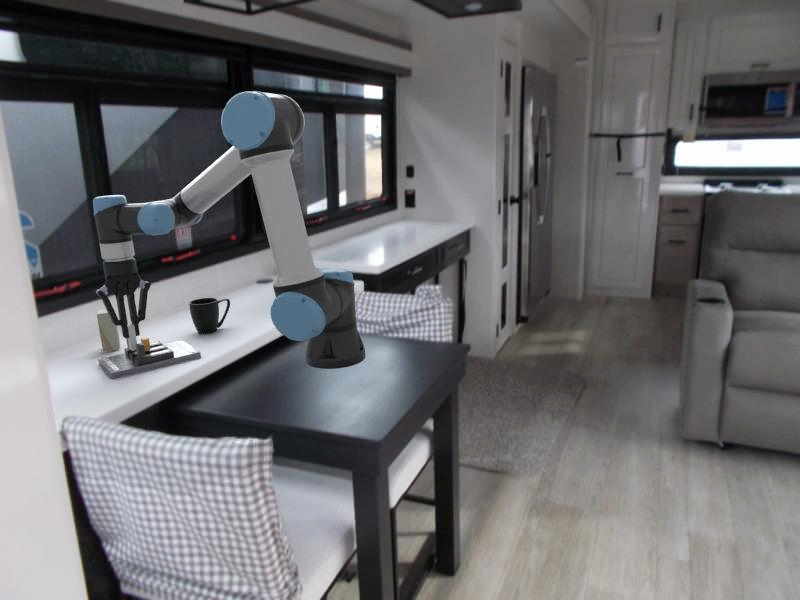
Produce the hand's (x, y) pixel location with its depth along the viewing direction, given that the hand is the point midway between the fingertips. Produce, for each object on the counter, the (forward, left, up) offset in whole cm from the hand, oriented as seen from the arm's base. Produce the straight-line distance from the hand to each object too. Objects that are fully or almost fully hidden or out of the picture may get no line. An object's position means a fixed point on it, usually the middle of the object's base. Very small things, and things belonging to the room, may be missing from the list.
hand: (133, 348), depth 159 cm
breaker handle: (0, -3, -1) cm, 3 cm away
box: (+19, +1, -5) cm, 20 cm away
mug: (+15, -27, -5) cm, 31 cm away
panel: (0, -4, -4) cm, 6 cm away
